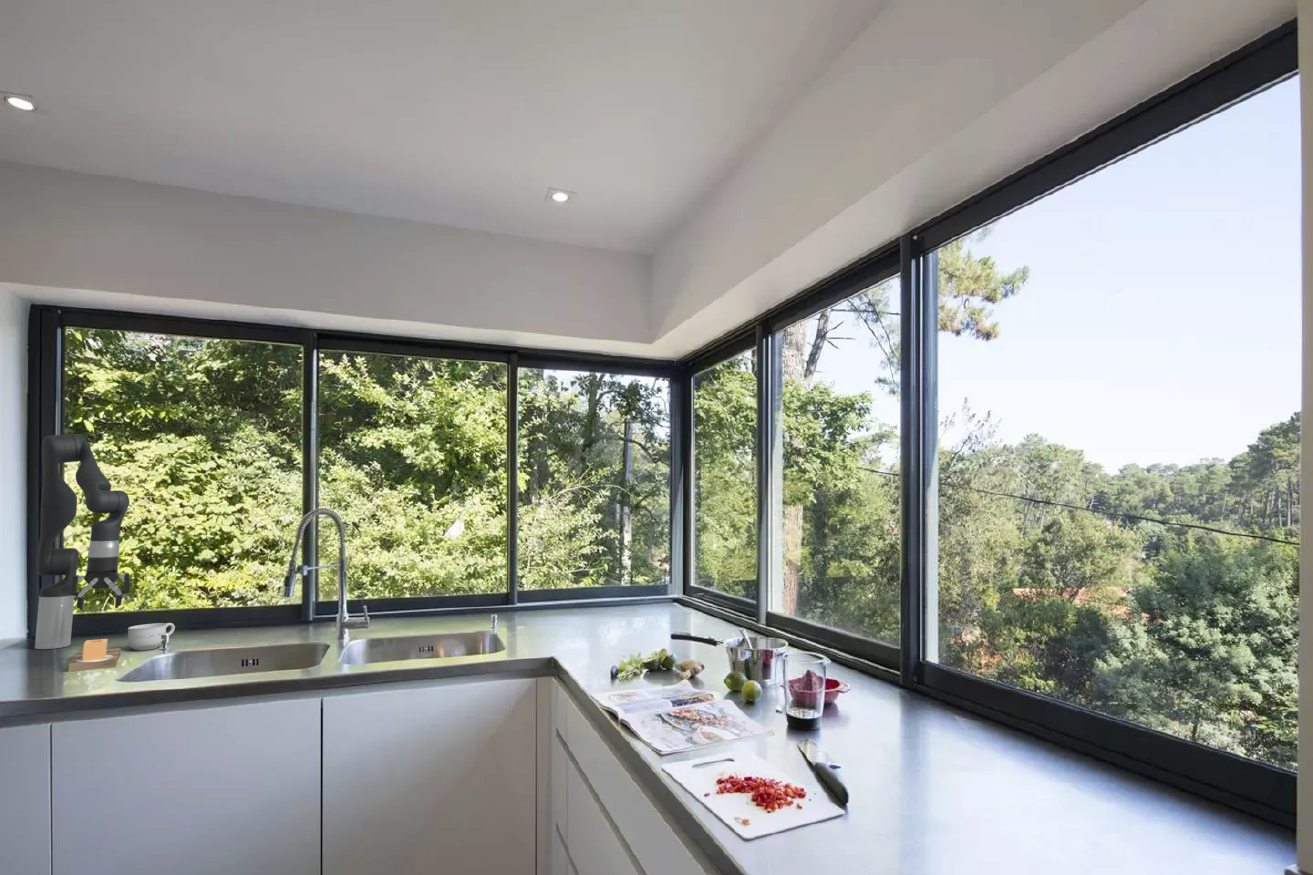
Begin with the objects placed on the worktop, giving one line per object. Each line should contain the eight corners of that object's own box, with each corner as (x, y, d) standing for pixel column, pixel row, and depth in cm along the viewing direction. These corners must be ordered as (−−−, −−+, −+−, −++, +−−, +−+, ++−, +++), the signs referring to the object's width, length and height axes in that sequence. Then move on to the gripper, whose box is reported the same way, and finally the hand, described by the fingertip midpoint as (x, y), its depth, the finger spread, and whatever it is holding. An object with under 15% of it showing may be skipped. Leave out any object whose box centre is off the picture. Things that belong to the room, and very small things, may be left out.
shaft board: (77, 658, 223) (78, 640, 224) (120, 654, 230) (121, 637, 230) (68, 671, 207) (69, 652, 207) (115, 667, 213) (116, 648, 213)
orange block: (104, 659, 213) (105, 642, 213) (82, 661, 210) (83, 644, 211) (106, 655, 218) (107, 638, 219) (84, 656, 216) (86, 640, 216)
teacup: (132, 653, 231) (134, 629, 232) (121, 649, 238) (123, 625, 238) (180, 647, 242) (182, 623, 243) (168, 642, 249) (170, 619, 249)
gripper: (72, 557, 210) (67, 612, 209) (131, 555, 218) (127, 608, 217) (75, 554, 216) (70, 608, 215) (133, 553, 224) (128, 605, 223)
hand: (99, 608), depth 216 cm, fingers open, 8 cm apart
